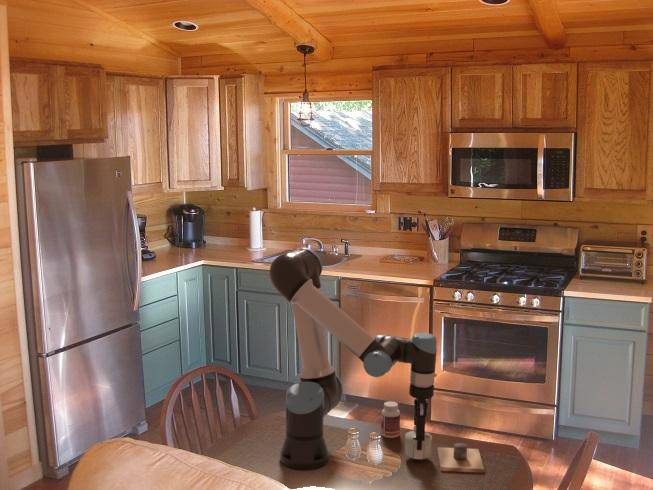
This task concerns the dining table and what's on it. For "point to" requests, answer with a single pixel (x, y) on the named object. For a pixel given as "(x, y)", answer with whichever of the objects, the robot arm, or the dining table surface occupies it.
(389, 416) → the pill bottle
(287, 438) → the robot arm
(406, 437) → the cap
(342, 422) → the dining table surface
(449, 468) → the stud board
